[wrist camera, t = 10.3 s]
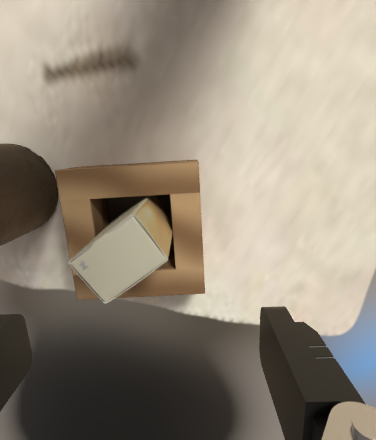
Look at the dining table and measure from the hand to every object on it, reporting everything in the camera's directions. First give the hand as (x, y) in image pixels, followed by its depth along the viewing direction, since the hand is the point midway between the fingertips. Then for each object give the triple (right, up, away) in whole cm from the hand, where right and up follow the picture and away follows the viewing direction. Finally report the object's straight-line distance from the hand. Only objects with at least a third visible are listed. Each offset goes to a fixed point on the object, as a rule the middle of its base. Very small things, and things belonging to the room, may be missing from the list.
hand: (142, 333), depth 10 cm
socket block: (-4, +4, +23) cm, 23 cm away
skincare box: (-3, +4, +23) cm, 23 cm away
